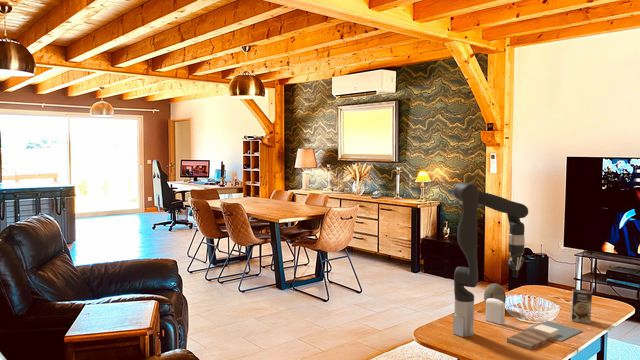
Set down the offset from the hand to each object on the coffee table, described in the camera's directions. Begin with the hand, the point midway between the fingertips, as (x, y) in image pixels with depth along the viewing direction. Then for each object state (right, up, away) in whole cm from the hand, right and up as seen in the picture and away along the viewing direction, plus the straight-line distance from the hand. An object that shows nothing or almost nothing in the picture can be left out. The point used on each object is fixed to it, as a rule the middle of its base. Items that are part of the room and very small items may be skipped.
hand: (515, 277), depth 262 cm
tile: (+13, -27, -5) cm, 31 cm away
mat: (+19, -27, 0) cm, 33 cm away
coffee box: (+41, -26, +15) cm, 51 cm away
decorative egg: (+1, -25, +33) cm, 41 cm away
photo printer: (-6, -26, +13) cm, 30 cm away
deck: (+2, -28, -13) cm, 31 cm away
